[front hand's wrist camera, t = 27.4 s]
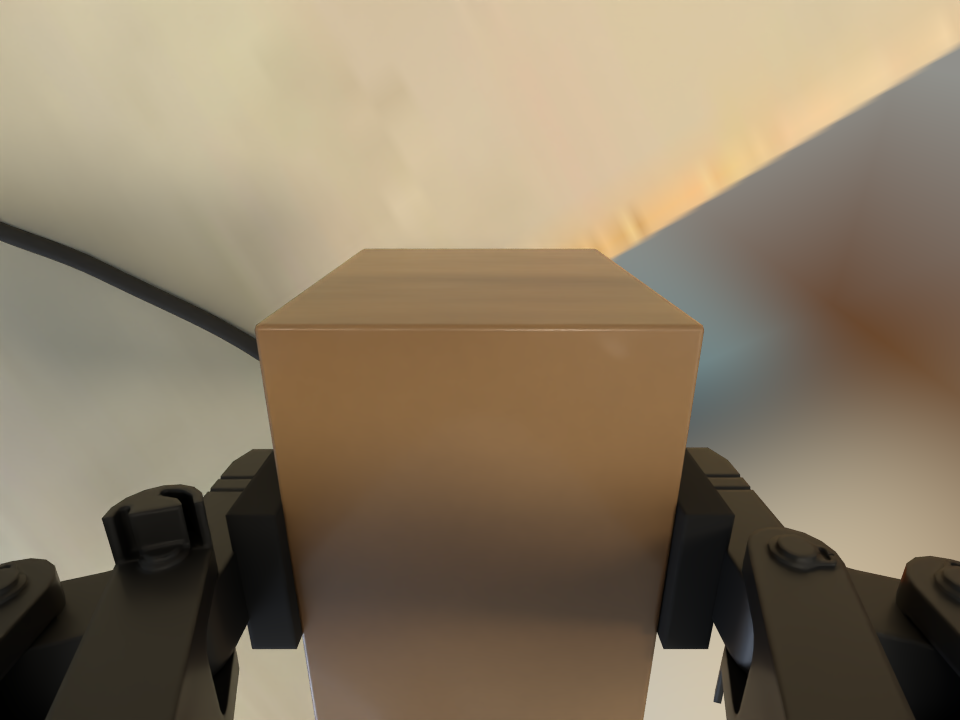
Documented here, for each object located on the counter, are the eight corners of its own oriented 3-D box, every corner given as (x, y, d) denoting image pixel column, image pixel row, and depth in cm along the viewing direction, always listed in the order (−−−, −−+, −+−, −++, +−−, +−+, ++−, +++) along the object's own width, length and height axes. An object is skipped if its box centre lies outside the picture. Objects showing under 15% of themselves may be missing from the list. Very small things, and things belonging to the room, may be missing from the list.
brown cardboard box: (362, 248, 14) (251, 324, 7) (597, 248, 14) (707, 325, 7) (382, 518, 17) (318, 750, 10) (576, 518, 17) (640, 751, 10)
